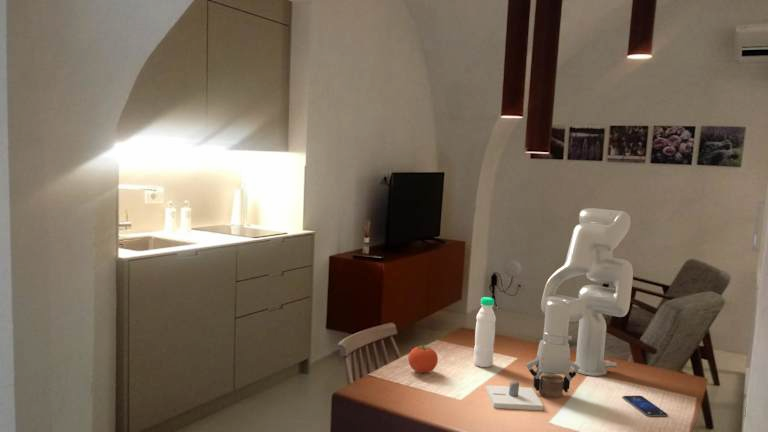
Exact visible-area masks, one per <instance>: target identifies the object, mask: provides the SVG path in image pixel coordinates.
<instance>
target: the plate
mask: <svg viewBox="0 0 768 432" xmlns="http://www.w3.org/2000/svg"><path fill="white" fill-rule="evenodd" d="M485 391H487V392H486V394H487V396H488V399H489V401H490V403H491V405H492V407H493V409H507V410H508V409H510V410H528V411H529V410H531V411H532V410H533V411H543V410H544V405H543V403H542V401H541V399H540V398H539V396H538V394H536V392H535V390H534V389H533V387H525V386H524V387H521V386H520V383H519V382H518V381H515V380H512V381H510V382H509V386H507V385H506V386H504V385H485Z"/></svg>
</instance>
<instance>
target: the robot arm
mask: <svg viewBox="0 0 768 432" xmlns="http://www.w3.org/2000/svg"><path fill="white" fill-rule="evenodd" d="M578 220H579V224H577V225H575V226H574V227H573V228H574V229H573V231H572V235H571V239H570V243H569V246H568V250H567V254H566V258H565V262H564V263H563V265H562V266H560V267H559V268H558V269H556V270H555V271H554V272H553V274H552V275H550V276H549V278H548V279H547V282H545V286H544V289H543V294H542V298H541V301H540V302H541V303H540V309H541V311H542V313H543V314H544V325H543V337H542V339H540V340H539V344H538V349H537V353H536V358H535V359H532V360H531V361H529V362H527V363H526V364H525V365H526V367H527V370H528V371H529V373H530V374H531V375H532V376H533V382H532V383H533V384H532V386H533V388H534V389H535V390H536V391H537V392H539V387H540V377H541V375H542V374H544V373H549V374H556V375H564V376H563V377H562V378H563V382H564V383H563V392H564V393H569V390H570V384H571V383H570V382H571V381H572V379H573V378H574V377H576V375H577V373H579V374H581V375H584V376H585V375H586V376H592V377H601V376H605V375H607V373H608V370H607V369H608V368H613V369H616V368H617V366H618V365H617V362H614V361H613V362H612V361H611V360H605V359H604V358H605V357H604V356H605V346H606V335H607V323H606V322H607V321H606V320H605V317H604V316H603V314H604V315H608V316H612V317H618V318H622V317H625V316H626V315H628V312H629V310H630V306H631V305H630V304H631V296H632V287H633V279H634V278H633V277H634V270H633V265H632V263H631V262H630V261H629V260H626V259H622V258H616V257H613V253H614V252H613V251H614V249H616V248H617V247H618V246H619V244H620V243H621V241H622V240H623V239H624V238H625V237H626V235H627V233H628V232H629V230H630V227H631V221H632V220H631V217H630V215H629V214H628V212H626V211H622V210H615V209H614V210H611V209H606V208H605V209H604V208H596V207H595V208H593V207H591V208H590V207H589V208H588V207H587V208H583V209H581V210H580V212H579V215H578ZM582 275H586V278H587V279H588V280H590V281H591V282H596V283H600V284H606V285H613V286H614V287H615V288H613V287H611V288H610V287H606V286H602V285H596V284H587V285H583V286H582V287H581V288H580V289H579V292H578V298H576V297H571V296H567V295H562V294H557V293H556V292H557V290H558V288H559V286H560V285H561V284H562V283H563V282H564V281H565V282H566V280H568V279H571V278H574V277H578V276H582ZM570 322H578V332H577V342H576V353H575V361H571V350H570V349H571V348H570V344H569V341H571V340H573V335H570V334H569V327H570V326H569V325H570V324H569V323H570ZM533 366H535V367H536V369H535V370H534V369H533ZM571 369H572V370H571Z"/></svg>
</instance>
